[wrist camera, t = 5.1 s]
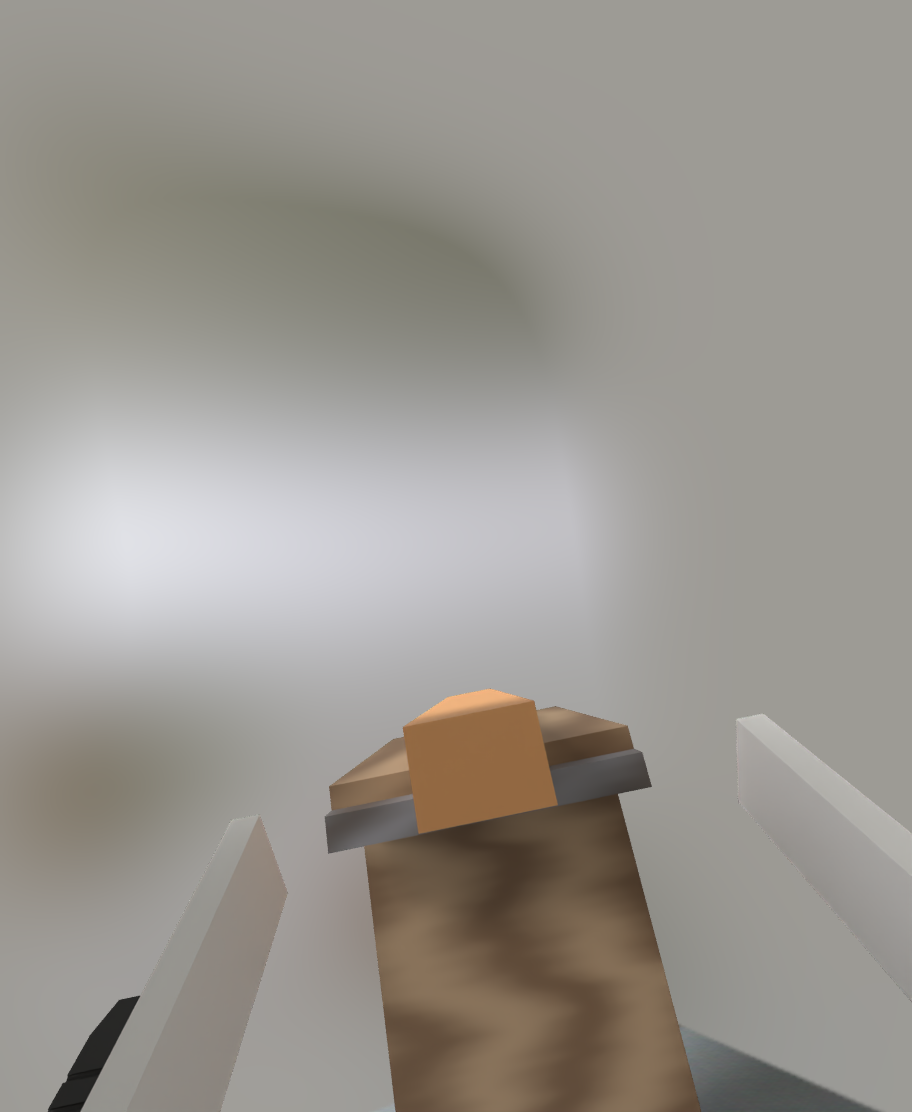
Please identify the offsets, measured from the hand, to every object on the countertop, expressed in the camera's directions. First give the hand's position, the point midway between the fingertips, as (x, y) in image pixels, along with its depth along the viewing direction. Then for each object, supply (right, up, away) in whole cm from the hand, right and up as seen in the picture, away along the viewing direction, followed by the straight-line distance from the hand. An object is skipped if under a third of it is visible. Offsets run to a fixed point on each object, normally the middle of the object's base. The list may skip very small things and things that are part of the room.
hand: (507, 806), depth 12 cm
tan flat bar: (0, -3, +11) cm, 12 cm away
